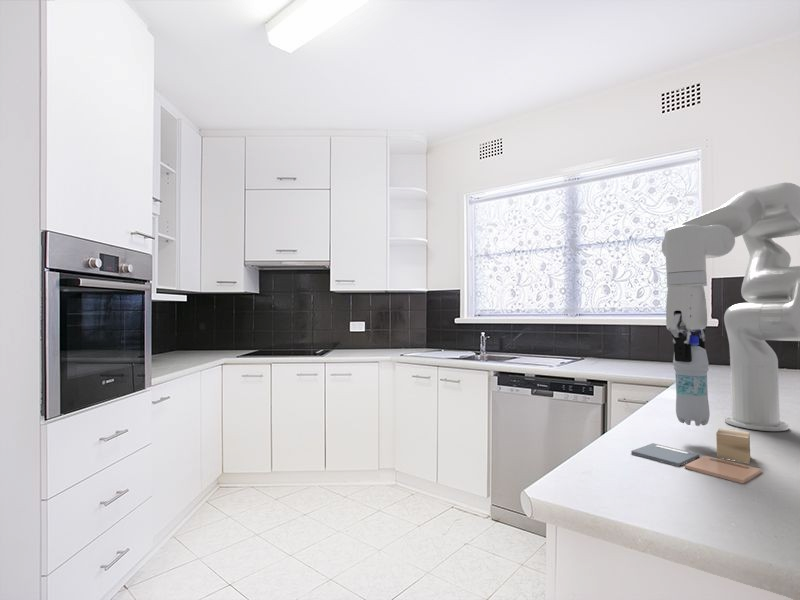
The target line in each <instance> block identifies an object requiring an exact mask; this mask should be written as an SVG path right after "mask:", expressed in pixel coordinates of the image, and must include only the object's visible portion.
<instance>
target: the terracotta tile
mask: <svg viewBox="0 0 800 600" xmlns="http://www.w3.org/2000/svg"><path fill="white" fill-rule="evenodd" d="M686 468H687V469H686ZM684 469H686V470H691V471H694V472H698V473H701V474H706V475H709V476H713V477H715V478H716V477H717V478H719V479H720V478H721V479H724V480H728V481H731V482H735V483H739V484H745V483H747V482H748V481H750V480H752V479H753V478H755V477H756V476H758V475H759V474H761V473H762V472H763V471H762V468H759V467H756V466H750V465H748V464H747V465H746V464H744V463H743V464H742V463H739V462H735V461H731V460H725V459H720V458H717V457H712V456H708V455H703V456H700V457H699V458H697V459H694V460H692V461H690V462H688V463H686V464H684Z"/></svg>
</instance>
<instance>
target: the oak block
mask: <svg viewBox="0 0 800 600" xmlns="http://www.w3.org/2000/svg"><path fill="white" fill-rule="evenodd" d="M750 436H751V433H750V432H748V431H740V430H735V429H733V430H732V429H727V428H718V429H717V432H716V458H717V457H718V458H717V459H720V458H724V459H723V460H725V459H730V460H729V461H731V460H735V461H734V462H737V461H739V462H738V463H742V462H743V464H747V465H749V464H750V461H751V437H750Z"/></svg>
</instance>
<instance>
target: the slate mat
mask: <svg viewBox="0 0 800 600" xmlns="http://www.w3.org/2000/svg"><path fill="white" fill-rule="evenodd" d="M630 451H631V452H630V453H631V455H634V454H635V455H634V456H639V457H642V458H645V459H649V460H652V461H653V460H654V461H656V460H658V461H657V462H660V461H662V462H661V463H664V462H665V463H664V464H668V463H669V464H668V465H671V464H673V465H672V466H675V465H676V467H681V466H683V465H682V464H684V463H686V462H688V463H690V462H692V461H694V460H696V459H695V458H697V457H699V458H700V453H696V452H691V451H688V450H683V449H678V448H675V447H670V446H666V445H662V444H658V443H654V442H652V443H649V444H647V445H644V446H641V447H638V448H636V449H632V450H630ZM693 459H694V460H693ZM697 459H698V458H697ZM691 460H692V461H691ZM689 461H690V462H689ZM686 464H687V463H686ZM680 465H681V466H680ZM684 465H685V464H684Z"/></svg>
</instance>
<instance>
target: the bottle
mask: <svg viewBox="0 0 800 600" xmlns="http://www.w3.org/2000/svg"><path fill="white" fill-rule="evenodd" d="M683 335H684V337H685V334H683ZM689 344H691V354H692V361H691V362H680V361H675V355H674V354H673V360H672V364H673V367H672V368H673V369H674V372H675V373H674V374H675V394H676V396H675V397H676V398H675V414H676V417H677V420H678V421H679V422H680V423H682V424H686V425H688V426H690V425H691V422H692V421H693V422H694V425H695V426H697V427H699V426H701V425H702V426H706V425H707V424H708V423H709V421H710V416H711V415H710V414H711V413H710V412H711V411H710V404H709V393H708V391H709V390H708V371H709V365H710V364H709V363H710V362H709V360H708V354H707V349H706V348H705V349H703V348H701V347H699V346H697V345H699V338H698V337H697V336H695V335H690V338H689Z"/></svg>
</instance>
